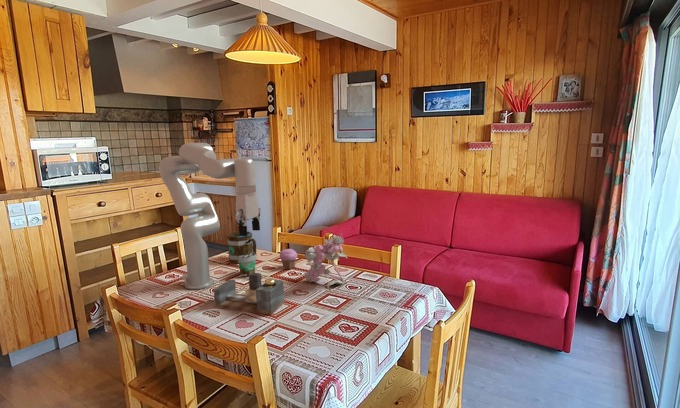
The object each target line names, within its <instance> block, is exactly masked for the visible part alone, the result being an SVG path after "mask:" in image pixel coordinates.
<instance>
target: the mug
mask: <svg viewBox="0 0 680 408" xmlns="http://www.w3.org/2000/svg"><path fill="white" fill-rule="evenodd" d="M247 234H248V235H247V236H240V234H239V231H234V232H230V233H227V234H226V239H227V251H228V263H231V265H237V264H239V263H238V258H242V257H243V256H245V255H247V254H248V253H249V252H254V253H255V254H256V255H257V241H256V240H255V239H254V238H253V233H252V232H251V231H247Z"/></svg>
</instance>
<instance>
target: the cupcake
mask: <svg viewBox="0 0 680 408" xmlns="http://www.w3.org/2000/svg"><path fill="white" fill-rule="evenodd" d="M297 258H298V253H297V252H296V250H294V249H293V248H286V249H282V250H281V251H280V254H279V259H280V260H281V263H282V265H283V268H284V269H287V270H291V269H293V268H295V267H296V259H297Z"/></svg>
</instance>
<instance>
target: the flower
mask: <svg viewBox="0 0 680 408" xmlns="http://www.w3.org/2000/svg"><path fill="white" fill-rule="evenodd" d="M342 234H343V233H340V236H339V235H336V234H334V235H332V236H331V237H330V238H328V239H326V238H325V239H324V244H323V245H321V244H317V245H314V247H313V246H312V247H309V248H308V249H305V254H303V255H302V256H303V257H305V261H306V262H307V263H312V264H310V265H309V266H310V268H309V269H308V272H305V273H304V274H303V276H304V277H305V278H304V280H305V281H308V282H309V283H311V282H312V281H313V282H319V281H320V280H321V277H319V276H320V275H321V276H322V275H324V276H325V277H326V276H329V277H332V278H334V279H337V280H335V281H334V280H333V281H329V282H327V285H326V286H327V289H328V290H329V289H330V286H332V285H335V284H344V283H345V284H348V281H345V280H344V277H343V276H342V274H341V273H340V271H339V268H338V267H337V265H336V263H335V262H334V261H335V260H338V261H340V258H339V257H342V258H346V259H348V257H347V255H346V253H344V248H343V246H342V245H343V244H344V243H345V239H344V237H342ZM324 260H327V261H330V262H331V264H332V265H333V267H334V269H335V271H336V273H337V274H338V276H337V275H335V274H332V271H330V269H328V268H327V266H328V264H323V261H324Z"/></svg>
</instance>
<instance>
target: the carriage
mask: <svg viewBox="0 0 680 408" xmlns="http://www.w3.org/2000/svg"><path fill="white" fill-rule="evenodd" d="M261 285H262V274H261V273H259V272H255V273H250V274H249V277H248V286H249V287H248V288H247V290H245V291H244V292H245V294H244V295H246V301H250V302H257V300H256V289H257V288H259V287H260V286H261Z"/></svg>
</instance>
